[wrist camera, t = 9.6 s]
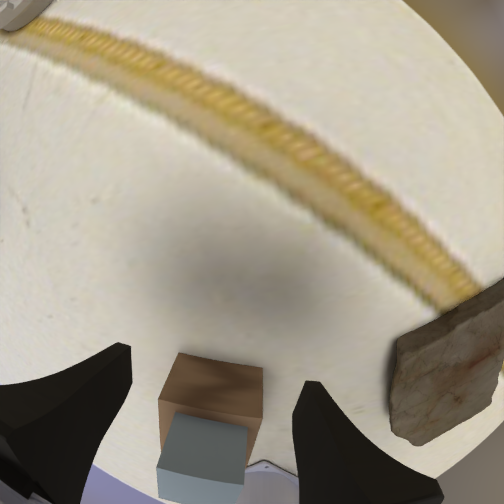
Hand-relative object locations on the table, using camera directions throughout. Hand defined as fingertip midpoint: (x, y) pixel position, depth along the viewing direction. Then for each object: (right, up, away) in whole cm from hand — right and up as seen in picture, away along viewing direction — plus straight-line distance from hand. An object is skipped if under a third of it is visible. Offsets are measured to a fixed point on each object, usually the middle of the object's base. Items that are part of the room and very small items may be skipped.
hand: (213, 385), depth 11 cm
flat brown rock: (+22, -6, +12) cm, 26 cm away
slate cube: (-2, -8, +7) cm, 11 cm away
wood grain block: (-2, -7, +13) cm, 15 cm away
